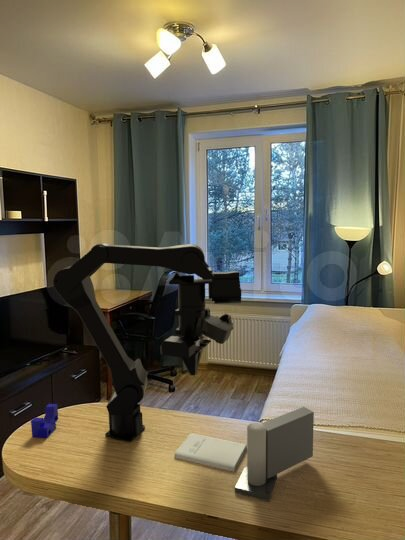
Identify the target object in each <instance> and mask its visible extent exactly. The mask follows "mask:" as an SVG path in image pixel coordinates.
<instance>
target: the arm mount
mask: <svg viewBox="0 0 405 540" xmlns="http://www.w3.org/2000/svg"><path fill="white" fill-rule="evenodd" d="M277 480H278V474H276V475H274V476H272V477H270V478H268V479H267V478H266V482H265V483H264V484H263V485H261V486H254V485H251V484H250V483H249V482H248V481H247V466H246V467H245V466H244V468H243V470H242V473H241V474H240V476H239V478H238V480H237V483H236V485H235V487H234V493H235V494H239V495H242V496H247V497H251V498H254V499H257V500H262V501H266V502H270V501H271V498H272V495H273V492H274V489H275V487H276V484H277Z"/></svg>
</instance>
